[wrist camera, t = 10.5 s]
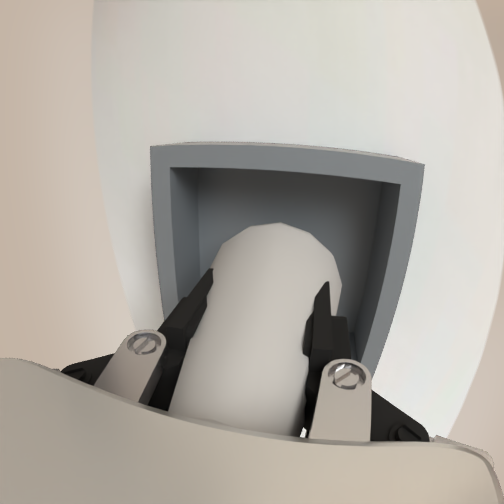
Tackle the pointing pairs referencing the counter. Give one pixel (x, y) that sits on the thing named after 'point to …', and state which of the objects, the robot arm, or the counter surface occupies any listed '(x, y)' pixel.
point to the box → (291, 218)
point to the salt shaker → (256, 332)
